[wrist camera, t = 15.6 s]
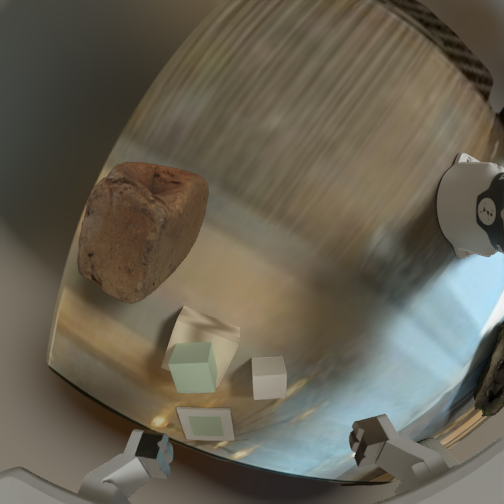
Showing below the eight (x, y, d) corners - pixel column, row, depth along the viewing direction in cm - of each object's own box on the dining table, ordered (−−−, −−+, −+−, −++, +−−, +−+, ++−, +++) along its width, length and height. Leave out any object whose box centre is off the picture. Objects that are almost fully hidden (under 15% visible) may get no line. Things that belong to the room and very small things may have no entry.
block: (191, 256, 37) (141, 322, 18) (143, 237, 37) (60, 281, 17) (220, 182, 35) (191, 173, 16) (169, 164, 35) (95, 140, 15)
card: (229, 407, 44) (229, 410, 43) (234, 438, 46) (234, 441, 45) (177, 406, 44) (176, 409, 43) (187, 437, 46) (186, 440, 45)
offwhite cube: (282, 355, 41) (287, 373, 37) (282, 378, 43) (286, 397, 38) (251, 357, 41) (252, 376, 36) (252, 380, 42) (253, 400, 38)
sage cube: (211, 341, 35) (207, 362, 30) (217, 370, 36) (214, 392, 31) (176, 343, 35) (168, 363, 30) (184, 371, 36) (177, 393, 31)
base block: (240, 326, 40) (239, 343, 35) (219, 369, 42) (217, 388, 37) (184, 304, 39) (176, 319, 34) (168, 350, 41) (160, 367, 36)
